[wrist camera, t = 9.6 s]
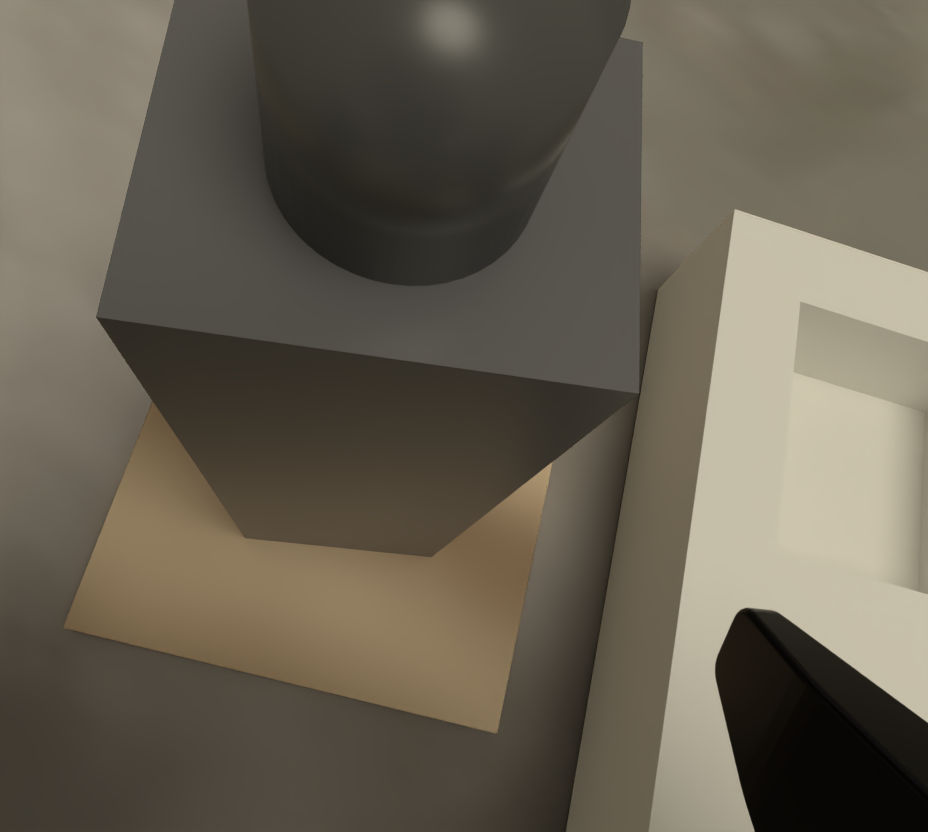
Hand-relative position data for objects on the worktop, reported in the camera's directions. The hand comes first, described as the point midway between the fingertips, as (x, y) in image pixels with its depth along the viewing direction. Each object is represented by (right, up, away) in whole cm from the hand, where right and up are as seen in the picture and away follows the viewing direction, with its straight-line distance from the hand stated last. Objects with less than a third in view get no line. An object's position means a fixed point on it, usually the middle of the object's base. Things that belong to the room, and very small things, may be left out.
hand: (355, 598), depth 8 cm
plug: (-1, +1, +9) cm, 9 cm away
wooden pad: (-1, +1, +9) cm, 9 cm away
